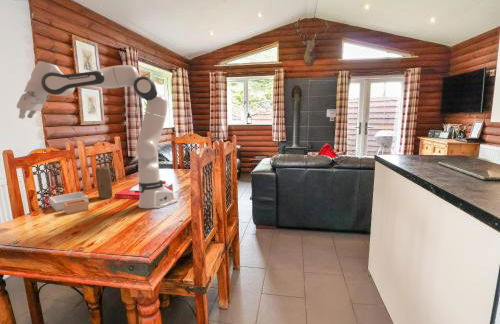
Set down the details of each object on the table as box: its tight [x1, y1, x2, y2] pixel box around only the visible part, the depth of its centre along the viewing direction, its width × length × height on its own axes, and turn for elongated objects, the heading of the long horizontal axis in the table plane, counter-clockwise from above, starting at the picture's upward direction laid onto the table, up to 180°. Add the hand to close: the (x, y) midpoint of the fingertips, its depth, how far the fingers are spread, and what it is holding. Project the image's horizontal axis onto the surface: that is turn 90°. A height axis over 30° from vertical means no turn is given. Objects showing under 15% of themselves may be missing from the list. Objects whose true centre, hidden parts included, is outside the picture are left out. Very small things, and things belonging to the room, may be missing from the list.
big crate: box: [48, 191, 90, 212], centre depth 160 cm, size 16×16×5 cm
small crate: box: [64, 199, 89, 215], centre depth 149 cm, size 10×6×5 cm, turn 136°
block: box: [95, 165, 113, 200], centre depth 173 cm, size 11×8×20 cm
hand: (25, 117), depth 134 cm, fingers open, 8 cm apart
